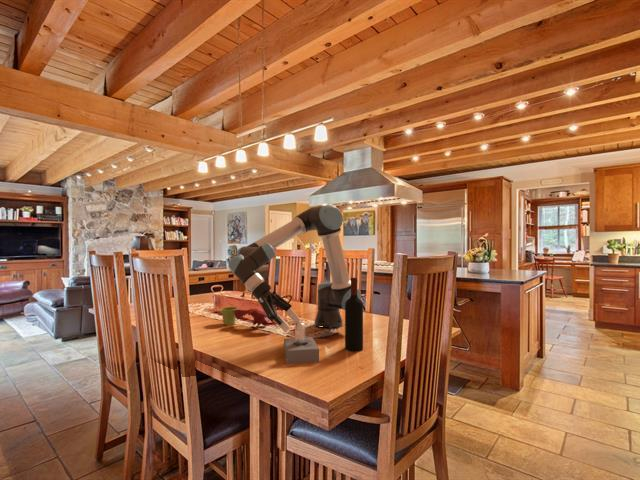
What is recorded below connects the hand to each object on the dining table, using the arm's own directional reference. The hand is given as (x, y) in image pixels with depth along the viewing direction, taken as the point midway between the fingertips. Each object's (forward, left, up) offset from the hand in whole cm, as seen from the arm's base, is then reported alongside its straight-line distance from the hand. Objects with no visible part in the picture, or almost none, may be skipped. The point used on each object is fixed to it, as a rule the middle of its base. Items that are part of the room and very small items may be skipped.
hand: (293, 325), depth 138 cm
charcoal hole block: (-3, +1, -12) cm, 12 cm away
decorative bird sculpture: (+14, -46, -12) cm, 50 cm away
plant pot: (+29, -58, -12) cm, 66 cm away
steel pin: (-3, +1, -11) cm, 11 cm away
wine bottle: (-26, -4, -12) cm, 29 cm away
